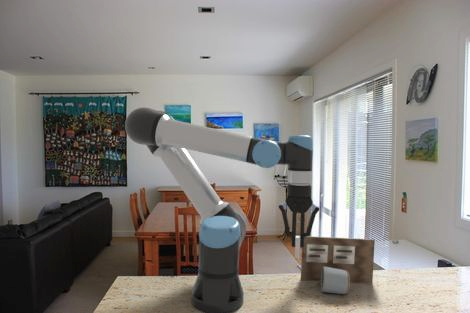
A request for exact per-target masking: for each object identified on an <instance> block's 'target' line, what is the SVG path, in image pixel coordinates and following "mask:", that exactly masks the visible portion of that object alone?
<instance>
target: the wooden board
mask: <svg viewBox="0 0 470 313" xmlns="http://www.w3.org/2000/svg"><path fill="white" fill-rule="evenodd" d="M375 241H376V240H375V239H373V238H371V239H369V238H354V237H353V238H352V237H335V236H334V237H333V236H332V237H331V236H311V235H310V236H307V237H305V238H304V247H303V248H301V265H300V268H301V269H300V281H307V282H308V281H309V282H310V281H314V282H321V272H322V267H323V266H325V267H331V268H336V269H342V270H345V271H347V272H348V273H349V275H350V284H351V283H352V284H366V285H367V284H369V285H370V284H371V285H372V284H373V281H374V280H373V279H374V262H375V261H374V259H375V258H374V257H375Z"/></svg>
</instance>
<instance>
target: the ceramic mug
mask: <svg viewBox="0 0 470 313" xmlns="http://www.w3.org/2000/svg"><path fill="white" fill-rule="evenodd" d="M350 288H351V283H350V275H349V273H348V272H347V271H345V270H342V269H336V268H331V267H325V266H323V267H322V272H321V281H320V290H321V292H322V293H329V294H337V295H347V294H349V292H350Z"/></svg>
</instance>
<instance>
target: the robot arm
mask: <svg viewBox="0 0 470 313" xmlns="http://www.w3.org/2000/svg"><path fill="white" fill-rule="evenodd" d="M124 122H125V124H124V127H125V132H126V134H127V136H128V138H129V139H130V140H131V141H133V142H134V143H135V144H139V145H143V146H147V149H148V150H149V151H150V152H151V154H152V155H153V157H157V158H160V160H161V161H162V162H163V164H164V165H165V166H166V168H167V169H168V170H169V172H170V174H171V175H172V177H173V178H174V180H175V181H176V182H177V184H178V185H179V187H180V188H181V190H182V191H183V193H184V194H185V196H186V197H187V198H188V200H189V202H190V203H191V204H192V206H193V208H194V209H195V210H196V212H197V213H198V214H199V216H200V220H199V224H200V226H199V230H198V237H199V238H198V242H199V243H198V270H197V271H198V274H197V276H196V279H195V282H194V285H193V287H192V291H191V299H190V300H191V302H190V303H191V304H192V306H193V307H195V308H196V309H197V310H199V311H200V312H204V313H231V312H234V311H237V310H238V309H240V308H241V307H242V306H243V305H244V298H245V297H244V290H243V287H242V283H241V279H240V276H239V267H240V264H239V262H240V249H241V246H242V243H243V242H244V240H245V238H246V233H247V227H246V222H245V219H244V218H243V217H242V215H241V214H240V213H239V212H238V211H235V210H234V209H233V207H232V206H231V205H230V203H229V202H226V201H222V199H221V198H220V197H219V195H218V194H217V192H216V191H215V189H214V188H213V186H212V185H211V184H210V182H209V180H208V179H207V177H206V176H205V175H204V173H203V172H202V170H201V169H200V168H199V166H198V165H197V163H196V161H195V160H194V158H192V156H191V155H190V153H189V151H194V152H199V153H202V154H207V155H212V156H215V157H221V158H225V159H231V160H234V161H239V162H243V163H247V164H251V165H257V166H258V167H260V168H265V169H271V168H273V167H275V166H276V165H278V166H279V165H282V166H283V165H284V166H287V183H288V184H287V189H286V190H287V193H286V194H287V195H286V196H287V197H286V199H285V201H284V202H283V203H280V204H278V208H279V210H280V212H281V216H282V220H283V225H284V228H285V229H284V230H285V234H286V235H287V236H290V237H291V247H293V248H294V259H300V258H301V257H300V256H301V249H302V248H303V247H304V238H305V237H307V236H311V233H312V229H313V225H314V222H315V218H316V215H317V213H318V212H320V206H318V205H316V204H315V203H313V202H314V201H313V200H312V188H313V187H312V185H311V184H312V183H313V182H312V181H313V178H312V177H313V155H314V148H313V146H314V145H313V143H314V142H313V137H312V136H310V135H305V134H304V135H303V134H302V135H300V134H299V135H296V134H295V135H294V134H293V135H290V136H288V140H286V141H284V140H283V141H280V140H279V141H278V140H277V141H276V140H270V139H265V138H259V137H254V136H251V135H250V136H249V135H245V134H240V133H237V132H231V131H226V130H222V129H218V128H213V127H208V126H204V125H199V124H194V123H191V122H186V121H180V120H176V119H174V118H173V117H172V115H170V114H169V113H167V112H165V111H162V110H156V109H153V108H150V107H137V108H136V109H133V110H132V111H131V112H130V113H129V114H128V115H127V116H126V119H125V121H124ZM287 207H288V208H289V210H290V212H291V213H292V217H291V218H292V219H291V220H292V222H291V225H292V226H291V227H290V223H289V219H288V214H287ZM310 208H311V209H310ZM308 210H311V213H310V217H309V220H308V224H307V227H306V231H305V215H306V213H307V212H308ZM297 214H300V227H299V230H300V231H299V235H297Z"/></svg>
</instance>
